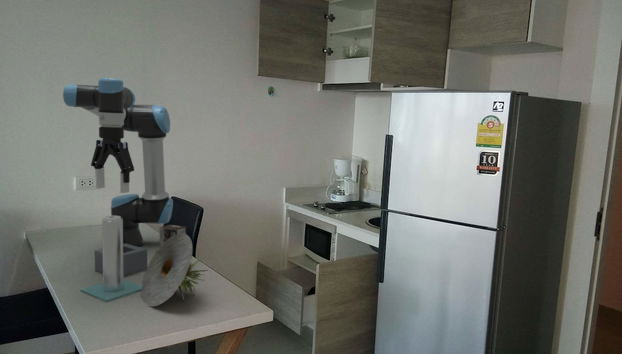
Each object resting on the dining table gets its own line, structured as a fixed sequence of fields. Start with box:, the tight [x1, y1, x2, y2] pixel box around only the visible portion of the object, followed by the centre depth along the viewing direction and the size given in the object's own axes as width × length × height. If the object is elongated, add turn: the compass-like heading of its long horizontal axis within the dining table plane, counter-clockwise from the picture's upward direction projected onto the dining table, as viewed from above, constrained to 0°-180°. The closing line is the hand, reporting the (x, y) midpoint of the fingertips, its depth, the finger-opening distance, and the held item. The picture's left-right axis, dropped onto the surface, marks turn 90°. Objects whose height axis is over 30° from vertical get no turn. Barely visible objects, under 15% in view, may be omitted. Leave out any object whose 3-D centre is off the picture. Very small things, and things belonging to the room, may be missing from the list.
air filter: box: [101, 215, 125, 292], centre depth 158 cm, size 6×6×25 cm
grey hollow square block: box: [94, 244, 148, 277], centre depth 179 cm, size 14×14×8 cm
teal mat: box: [80, 279, 142, 303], centre depth 159 cm, size 15×15×1 cm
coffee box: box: [159, 224, 188, 247], centre depth 186 cm, size 9×6×16 cm
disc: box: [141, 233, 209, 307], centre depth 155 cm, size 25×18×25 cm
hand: (112, 190), depth 155 cm, fingers open, 13 cm apart
